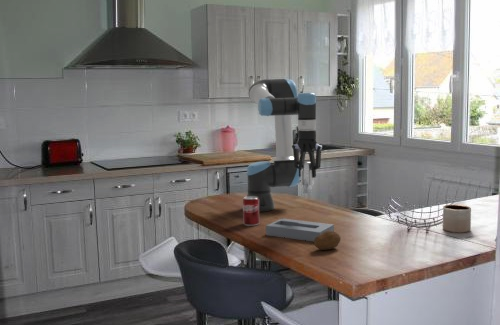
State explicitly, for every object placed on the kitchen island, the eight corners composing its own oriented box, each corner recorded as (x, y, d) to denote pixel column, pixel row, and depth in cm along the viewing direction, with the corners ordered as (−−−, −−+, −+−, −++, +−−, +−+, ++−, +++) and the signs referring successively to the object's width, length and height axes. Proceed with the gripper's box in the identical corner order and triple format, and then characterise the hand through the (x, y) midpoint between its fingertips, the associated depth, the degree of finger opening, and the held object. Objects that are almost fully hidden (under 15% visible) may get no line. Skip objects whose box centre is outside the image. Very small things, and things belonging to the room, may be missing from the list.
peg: (305, 191, 235) (305, 161, 233) (313, 192, 233) (312, 161, 231) (301, 192, 232) (301, 162, 230) (309, 193, 230) (309, 163, 228)
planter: (469, 227, 229) (470, 205, 227) (471, 234, 219) (472, 210, 217) (442, 226, 232) (442, 203, 231) (442, 232, 222) (443, 209, 221)
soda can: (257, 226, 238) (257, 199, 237) (241, 225, 240) (241, 199, 238) (260, 222, 245) (260, 196, 244) (245, 222, 247) (244, 195, 245)
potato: (309, 250, 201) (308, 231, 200) (331, 244, 208) (331, 226, 207) (321, 254, 196) (321, 235, 195) (344, 248, 203) (344, 230, 202)
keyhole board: (266, 235, 224) (265, 225, 223) (282, 227, 235) (282, 218, 235) (319, 242, 211) (319, 232, 211) (334, 234, 223) (334, 224, 222)
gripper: (285, 130, 230) (286, 184, 233) (321, 130, 222) (322, 187, 225) (293, 128, 237) (293, 182, 240) (328, 129, 228) (329, 184, 231)
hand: (307, 184), depth 232 cm, fingers closed on peg, 3 cm apart
